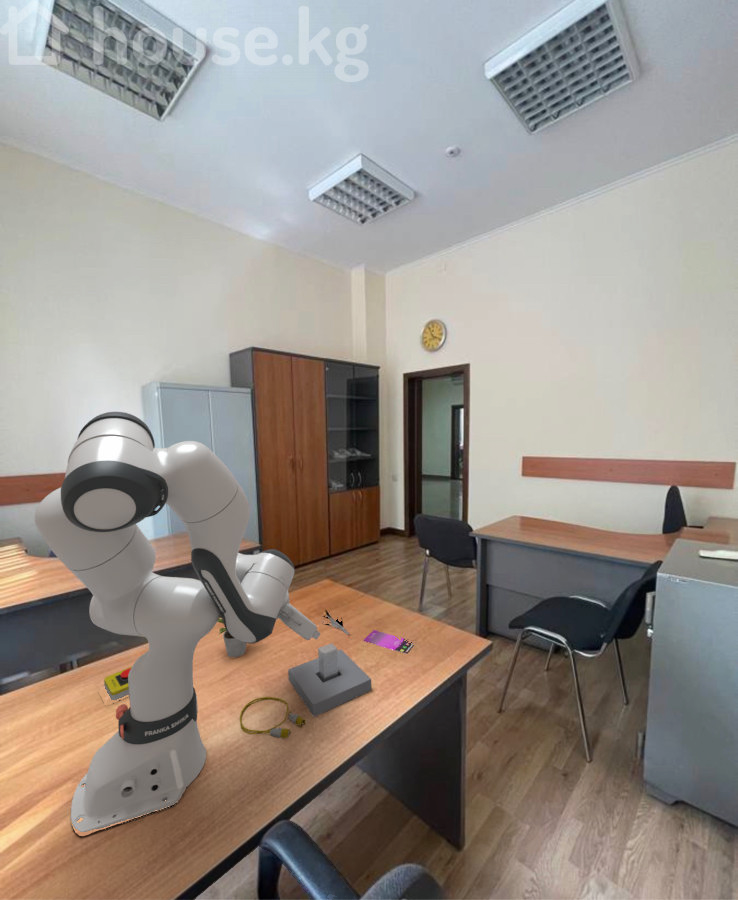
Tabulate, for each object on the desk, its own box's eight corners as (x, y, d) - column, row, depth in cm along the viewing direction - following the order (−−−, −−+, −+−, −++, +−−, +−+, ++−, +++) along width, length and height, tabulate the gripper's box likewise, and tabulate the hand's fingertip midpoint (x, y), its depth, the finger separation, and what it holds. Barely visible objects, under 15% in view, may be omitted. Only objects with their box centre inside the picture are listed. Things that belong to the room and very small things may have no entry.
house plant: (239, 674, 107) (236, 616, 106) (199, 665, 112) (196, 610, 111) (269, 645, 121) (266, 594, 120) (231, 638, 125) (229, 589, 124)
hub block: (313, 717, 91) (313, 704, 90) (288, 680, 104) (288, 669, 104) (371, 690, 99) (371, 679, 99) (341, 659, 113) (341, 649, 112)
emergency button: (95, 675, 102) (158, 651, 113) (97, 691, 102) (159, 665, 113) (104, 692, 96) (169, 664, 106) (105, 709, 96) (170, 679, 106)
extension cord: (255, 758, 81) (255, 748, 80) (232, 713, 93) (232, 705, 93) (308, 729, 88) (308, 721, 88) (280, 692, 100) (280, 684, 100)
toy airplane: (338, 640, 123) (338, 633, 123) (310, 614, 141) (310, 608, 141) (359, 632, 128) (359, 625, 127) (329, 608, 145) (329, 602, 145)
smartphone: (406, 656, 114) (406, 653, 114) (363, 642, 122) (363, 639, 122) (416, 644, 121) (416, 641, 121) (374, 631, 128) (374, 628, 128)
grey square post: (324, 691, 99) (323, 653, 99) (319, 685, 102) (318, 648, 101) (339, 685, 102) (337, 648, 101) (333, 679, 104) (332, 642, 103)
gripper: (297, 603, 85) (337, 633, 91) (263, 576, 102) (299, 603, 108) (278, 629, 83) (320, 658, 89) (247, 598, 100) (284, 624, 106)
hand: (308, 628), depth 99 cm, fingers open, 8 cm apart
